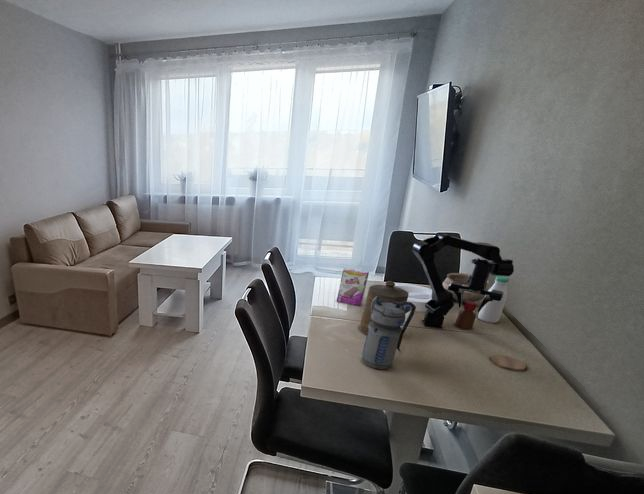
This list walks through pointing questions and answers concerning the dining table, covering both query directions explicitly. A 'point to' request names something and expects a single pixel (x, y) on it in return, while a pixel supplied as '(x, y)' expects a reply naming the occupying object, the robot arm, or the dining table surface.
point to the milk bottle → (495, 302)
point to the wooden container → (384, 294)
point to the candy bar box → (352, 286)
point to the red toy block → (470, 306)
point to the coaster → (508, 363)
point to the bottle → (465, 319)
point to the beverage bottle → (385, 332)
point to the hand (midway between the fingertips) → (468, 309)
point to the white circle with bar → (416, 295)
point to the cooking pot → (462, 279)
